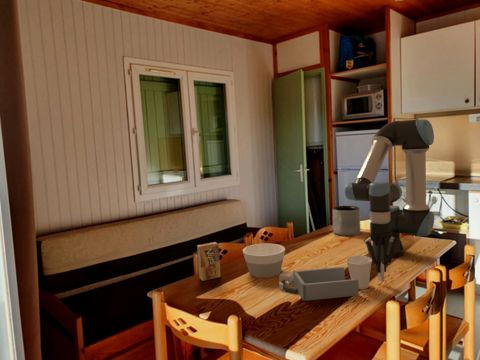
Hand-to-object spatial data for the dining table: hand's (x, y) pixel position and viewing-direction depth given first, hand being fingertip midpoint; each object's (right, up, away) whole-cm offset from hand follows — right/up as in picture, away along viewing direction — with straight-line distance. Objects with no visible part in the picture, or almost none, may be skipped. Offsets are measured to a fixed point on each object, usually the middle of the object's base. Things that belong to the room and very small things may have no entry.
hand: (381, 280), depth 153 cm
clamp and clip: (-37, -3, +7) cm, 38 cm away
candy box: (-69, -4, +19) cm, 72 cm away
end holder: (-22, -3, -2) cm, 22 cm away
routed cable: (-37, -4, +3) cm, 37 cm away
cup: (-8, -3, 0) cm, 9 cm away
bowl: (-45, -2, +22) cm, 50 cm away
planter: (+9, +7, +81) cm, 82 cm away
